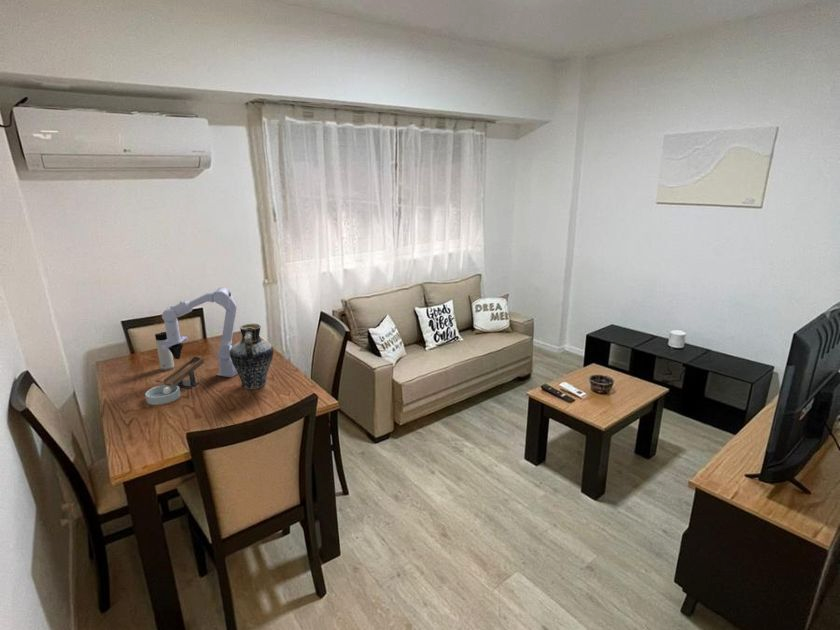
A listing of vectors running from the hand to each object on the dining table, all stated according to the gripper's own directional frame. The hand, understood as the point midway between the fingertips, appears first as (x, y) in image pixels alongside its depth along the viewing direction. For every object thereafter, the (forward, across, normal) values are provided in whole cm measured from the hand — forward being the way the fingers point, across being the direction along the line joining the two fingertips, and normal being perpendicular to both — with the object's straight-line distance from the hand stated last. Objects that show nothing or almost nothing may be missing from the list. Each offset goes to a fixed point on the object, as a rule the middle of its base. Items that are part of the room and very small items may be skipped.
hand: (177, 358), depth 221 cm
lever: (+5, +6, +6) cm, 10 cm away
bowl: (+10, +20, +9) cm, 24 cm away
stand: (+10, +6, +9) cm, 15 cm away
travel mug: (+10, -8, -15) cm, 20 cm away
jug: (+11, -3, +41) cm, 43 cm away
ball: (+8, +17, +9) cm, 21 cm away
